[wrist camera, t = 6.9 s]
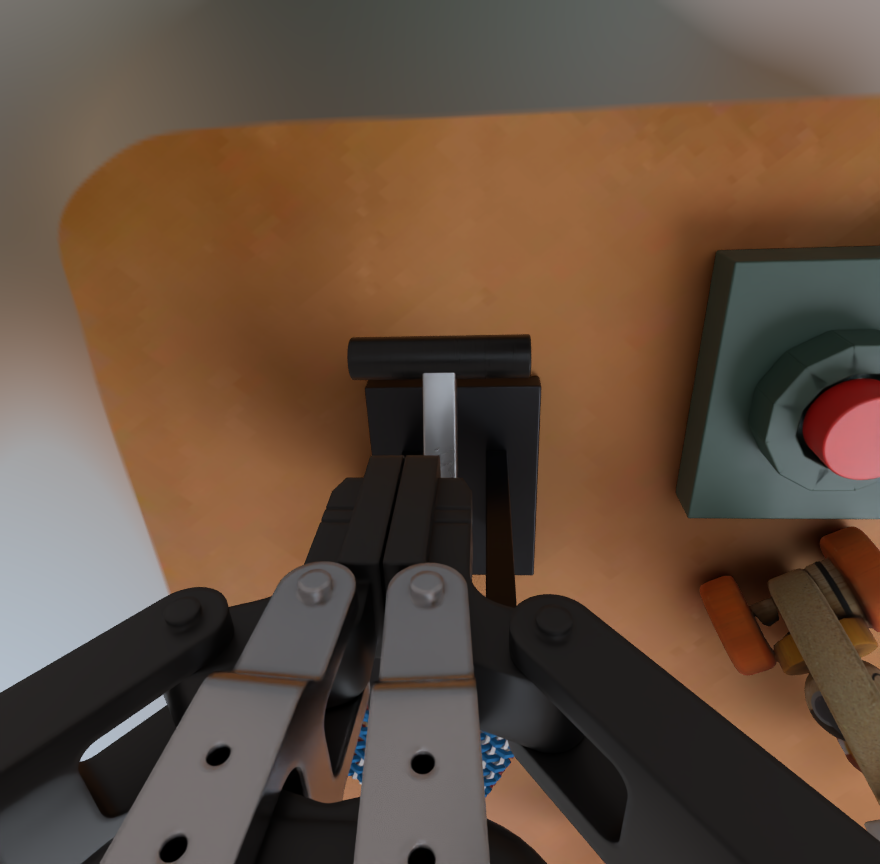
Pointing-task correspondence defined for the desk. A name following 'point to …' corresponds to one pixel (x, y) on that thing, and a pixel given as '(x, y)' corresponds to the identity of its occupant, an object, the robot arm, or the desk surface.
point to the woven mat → (491, 747)
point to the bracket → (477, 466)
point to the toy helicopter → (818, 641)
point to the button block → (778, 382)
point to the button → (847, 428)
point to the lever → (440, 375)
